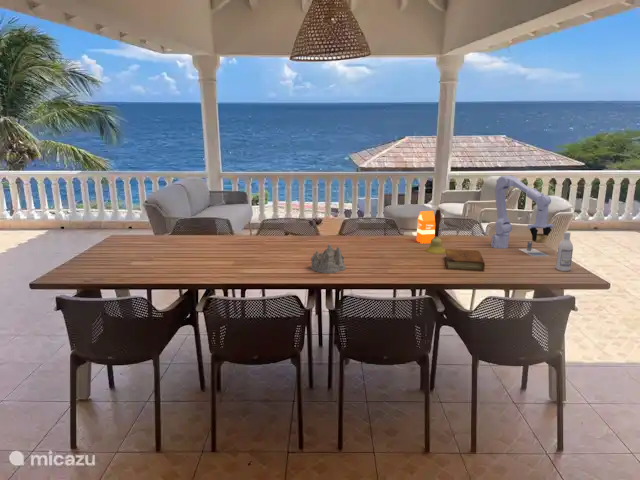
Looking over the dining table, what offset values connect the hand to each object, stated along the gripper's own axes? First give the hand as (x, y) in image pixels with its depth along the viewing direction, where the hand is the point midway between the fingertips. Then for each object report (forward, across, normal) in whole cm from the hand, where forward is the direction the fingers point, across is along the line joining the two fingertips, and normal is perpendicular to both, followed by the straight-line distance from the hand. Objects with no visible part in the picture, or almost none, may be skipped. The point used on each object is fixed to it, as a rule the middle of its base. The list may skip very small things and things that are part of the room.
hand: (539, 240), depth 287 cm
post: (+9, 0, +10) cm, 13 cm away
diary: (+10, -48, -11) cm, 51 cm away
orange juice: (+10, -54, +40) cm, 67 cm away
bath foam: (+10, 0, -26) cm, 28 cm away
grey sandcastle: (+10, -123, -11) cm, 124 cm away
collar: (+1, 0, 0) cm, 1 cm away
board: (+9, 0, +4) cm, 10 cm away
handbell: (+10, -54, +17) cm, 58 cm away
